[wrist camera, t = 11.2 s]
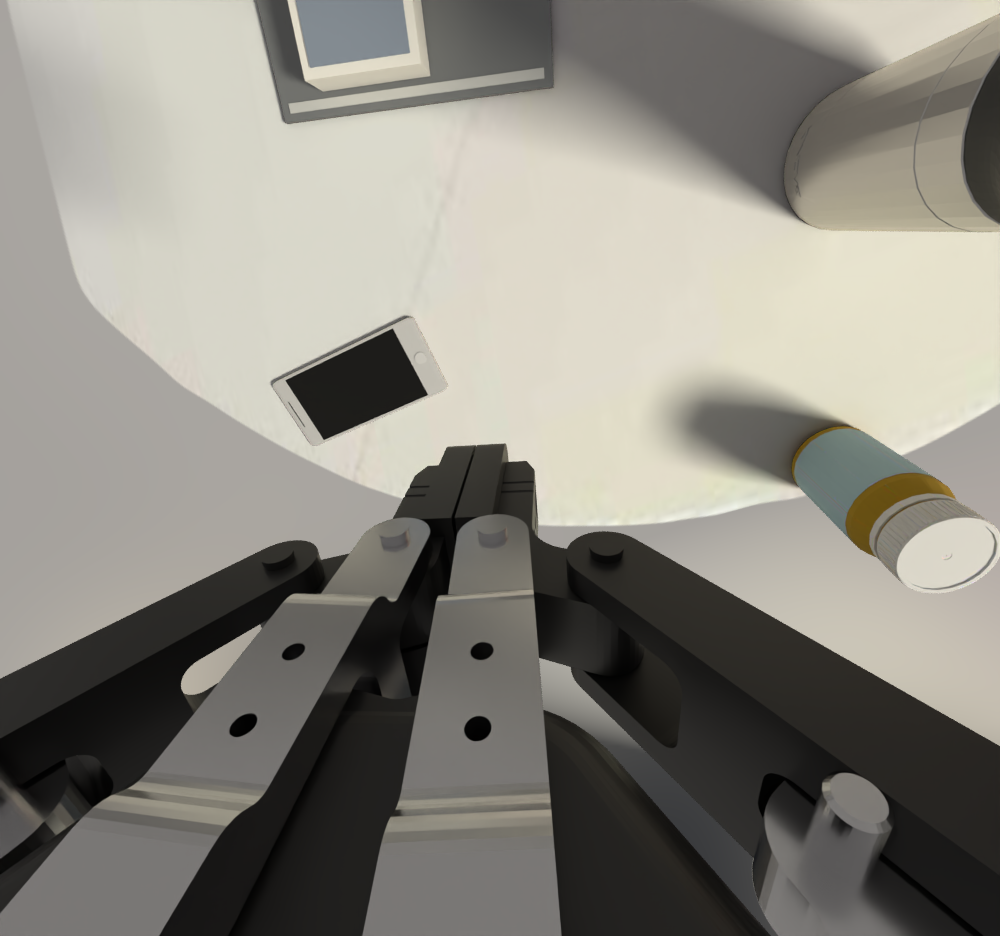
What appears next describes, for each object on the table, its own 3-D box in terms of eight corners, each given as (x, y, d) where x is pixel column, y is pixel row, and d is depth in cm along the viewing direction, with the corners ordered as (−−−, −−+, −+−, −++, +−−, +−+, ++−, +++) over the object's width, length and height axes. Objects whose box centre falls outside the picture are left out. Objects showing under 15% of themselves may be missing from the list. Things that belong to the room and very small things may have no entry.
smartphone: (450, 386, 45) (448, 389, 45) (316, 444, 49) (312, 448, 49) (413, 314, 43) (410, 315, 42) (274, 381, 47) (269, 384, 46)
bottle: (783, 494, 47) (878, 600, 34) (793, 426, 44) (902, 514, 31) (862, 489, 46) (991, 596, 33) (877, 420, 43) (1027, 507, 30)
